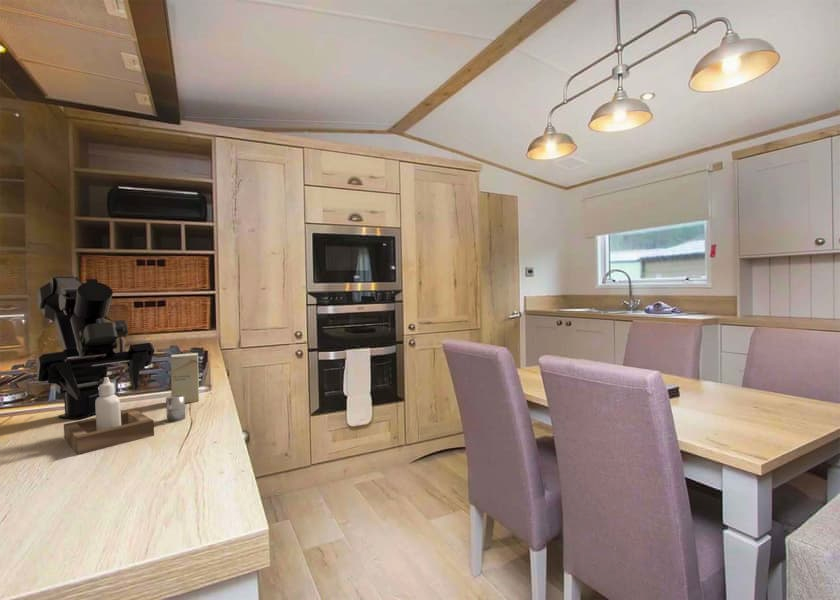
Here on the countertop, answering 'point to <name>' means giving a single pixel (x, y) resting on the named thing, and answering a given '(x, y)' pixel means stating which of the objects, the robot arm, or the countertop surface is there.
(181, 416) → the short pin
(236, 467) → the countertop surface
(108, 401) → the eye dropper bottle
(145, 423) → the socket block
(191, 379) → the skincare box
